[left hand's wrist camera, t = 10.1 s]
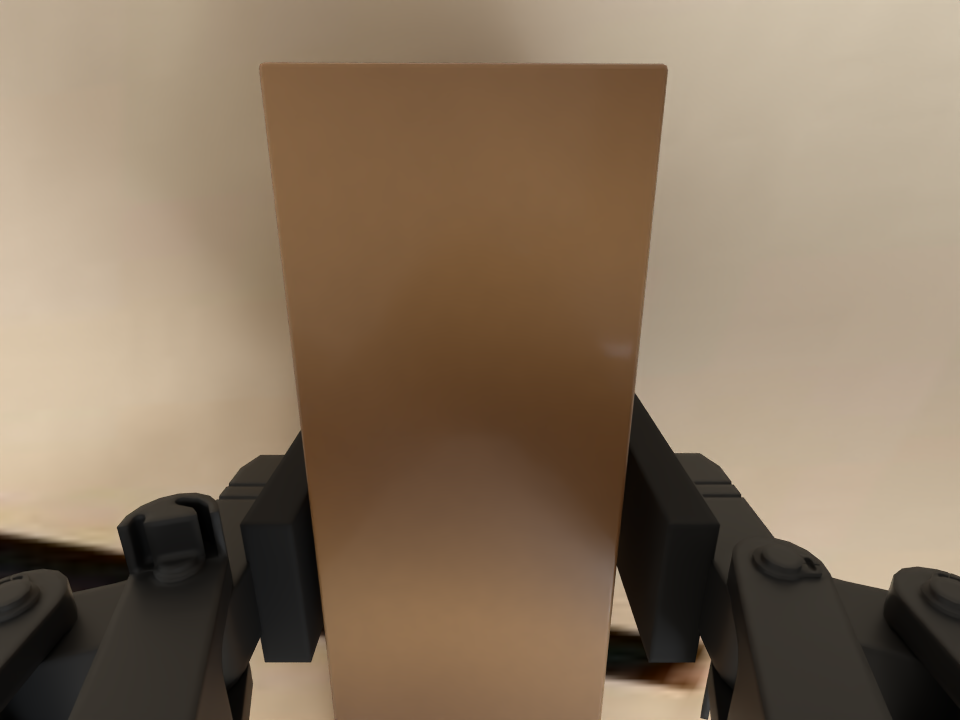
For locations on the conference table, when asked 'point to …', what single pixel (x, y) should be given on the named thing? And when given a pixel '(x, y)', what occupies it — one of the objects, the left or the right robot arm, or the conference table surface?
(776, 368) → the conference table surface
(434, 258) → the beam
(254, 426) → the conference table surface
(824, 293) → the conference table surface
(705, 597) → the left robot arm
